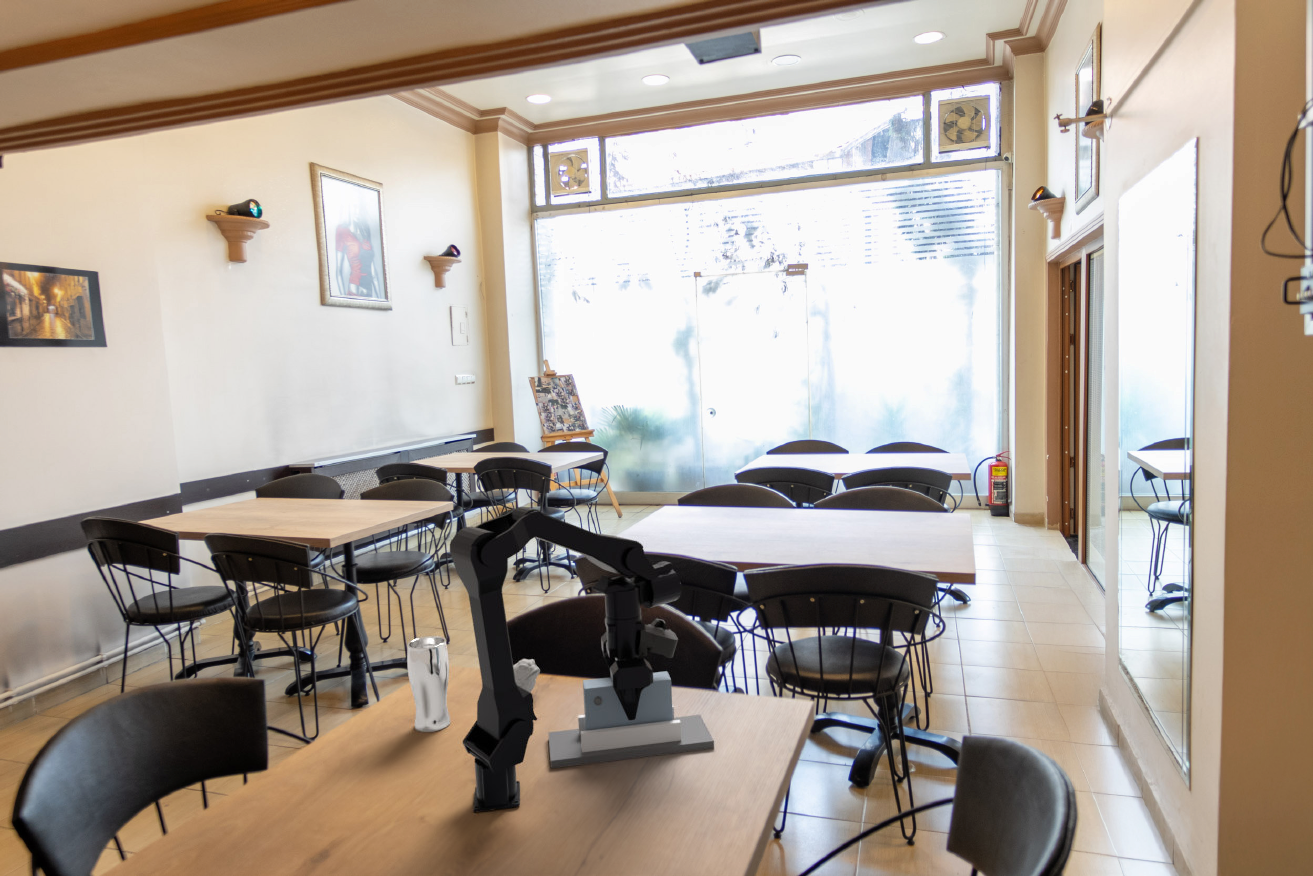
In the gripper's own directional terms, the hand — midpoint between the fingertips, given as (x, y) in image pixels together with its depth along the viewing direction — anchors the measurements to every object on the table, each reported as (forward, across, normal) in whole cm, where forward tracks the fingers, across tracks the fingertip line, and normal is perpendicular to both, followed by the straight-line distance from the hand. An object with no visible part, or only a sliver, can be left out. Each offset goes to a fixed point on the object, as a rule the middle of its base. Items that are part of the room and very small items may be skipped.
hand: (628, 707), depth 131 cm
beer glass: (+6, +16, +33) cm, 37 cm away
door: (+5, 0, 0) cm, 5 cm away
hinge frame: (+6, 0, 0) cm, 6 cm away
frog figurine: (+6, +25, +17) cm, 31 cm away
